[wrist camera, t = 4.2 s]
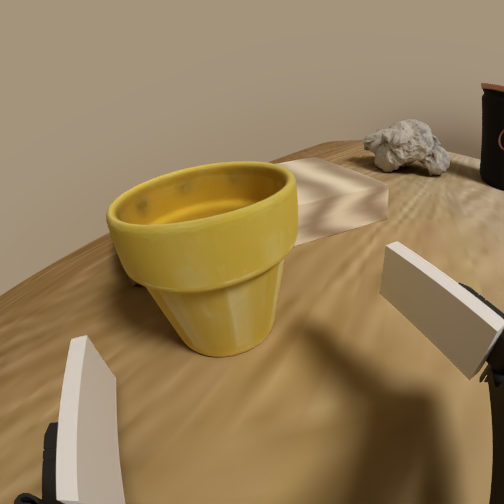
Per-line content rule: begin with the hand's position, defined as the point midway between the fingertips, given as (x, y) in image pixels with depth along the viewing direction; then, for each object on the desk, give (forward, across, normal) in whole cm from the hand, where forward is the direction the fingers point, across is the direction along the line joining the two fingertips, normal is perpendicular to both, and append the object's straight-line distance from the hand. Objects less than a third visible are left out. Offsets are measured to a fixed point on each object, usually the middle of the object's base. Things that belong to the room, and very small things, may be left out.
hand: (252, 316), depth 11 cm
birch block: (+22, +12, -6) cm, 25 cm away
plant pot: (+7, 0, -6) cm, 9 cm away
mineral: (+29, +38, -6) cm, 48 cm away
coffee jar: (+14, +53, -6) cm, 55 cm away
